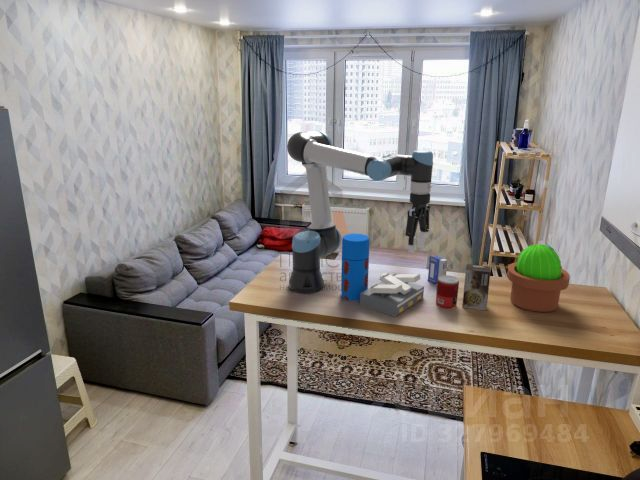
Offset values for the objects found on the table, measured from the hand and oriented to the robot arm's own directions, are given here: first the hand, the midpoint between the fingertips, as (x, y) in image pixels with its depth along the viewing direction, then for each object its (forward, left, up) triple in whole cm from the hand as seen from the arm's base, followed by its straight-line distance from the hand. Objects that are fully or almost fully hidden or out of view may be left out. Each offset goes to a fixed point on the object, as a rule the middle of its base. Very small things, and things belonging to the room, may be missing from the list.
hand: (416, 250), depth 181 cm
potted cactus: (+39, +28, -21) cm, 52 cm away
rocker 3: (-4, 0, -13) cm, 14 cm away
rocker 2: (-4, -7, -13) cm, 16 cm away
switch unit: (-5, -7, -21) cm, 23 cm away
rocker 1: (-4, -14, -13) cm, 20 cm away
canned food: (+13, +4, -21) cm, 25 cm away
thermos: (-20, -12, -21) cm, 32 cm away
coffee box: (+22, +10, -21) cm, 32 cm away
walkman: (0, +22, -21) cm, 31 cm away
